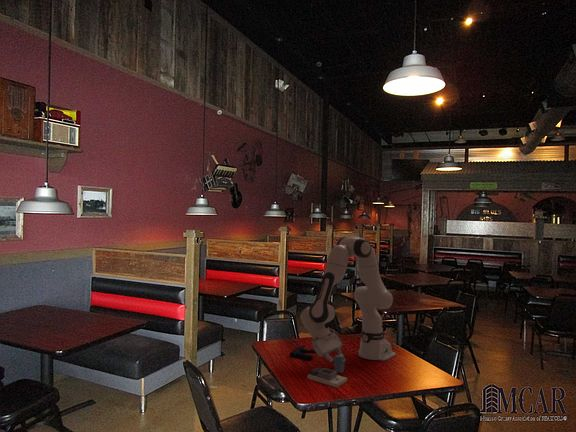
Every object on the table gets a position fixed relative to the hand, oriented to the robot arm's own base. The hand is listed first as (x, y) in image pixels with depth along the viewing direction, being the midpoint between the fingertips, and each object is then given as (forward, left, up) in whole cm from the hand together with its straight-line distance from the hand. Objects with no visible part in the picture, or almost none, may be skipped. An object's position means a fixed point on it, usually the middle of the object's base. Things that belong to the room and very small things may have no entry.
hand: (336, 358), depth 205 cm
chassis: (+13, +6, -6) cm, 15 cm away
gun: (-5, -30, -7) cm, 31 cm away
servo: (0, +1, -6) cm, 6 cm away
